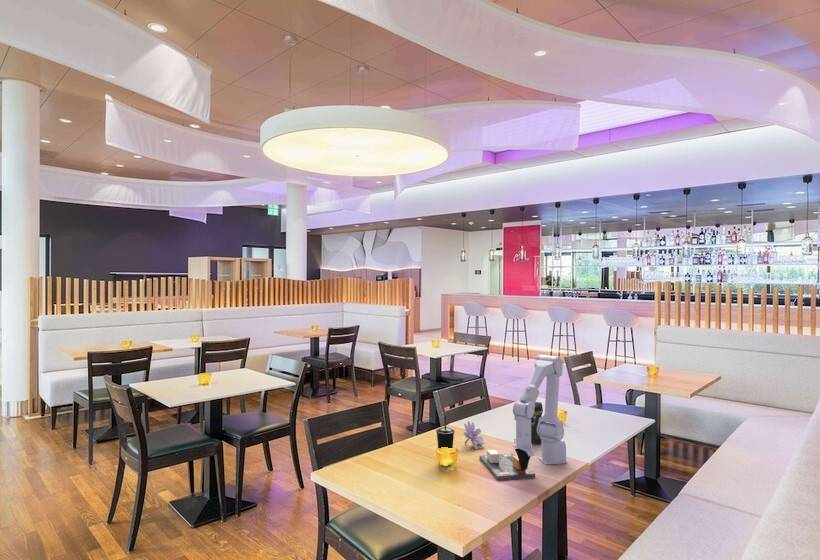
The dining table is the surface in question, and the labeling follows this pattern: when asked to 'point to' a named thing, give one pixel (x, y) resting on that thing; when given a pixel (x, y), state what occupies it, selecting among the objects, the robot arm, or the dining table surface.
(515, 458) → the plain orange cube
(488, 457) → the switch
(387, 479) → the dining table surface
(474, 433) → the water lily
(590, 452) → the dining table surface
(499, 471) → the breaker panel
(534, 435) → the coffee jar
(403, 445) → the dining table surface
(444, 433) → the drinking cup
